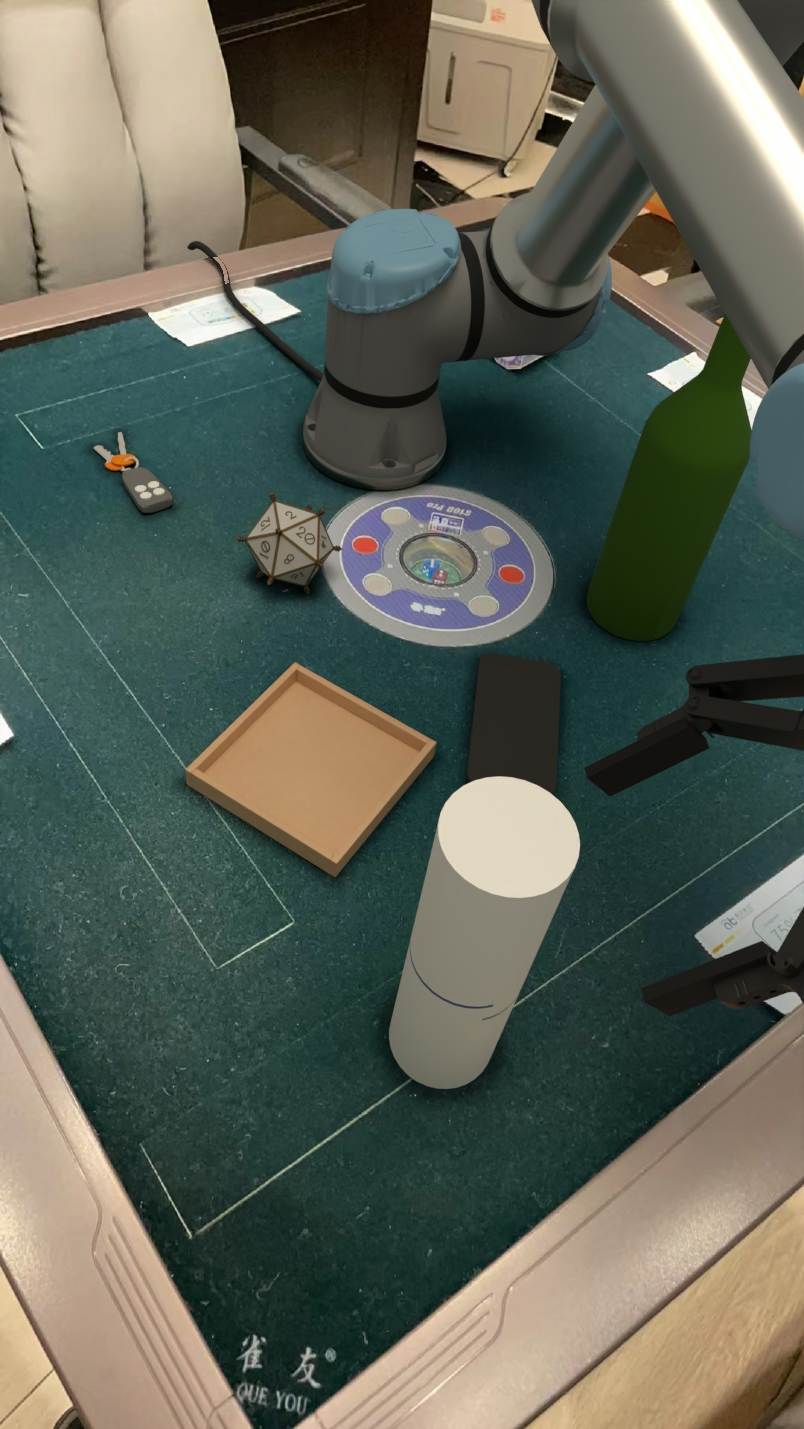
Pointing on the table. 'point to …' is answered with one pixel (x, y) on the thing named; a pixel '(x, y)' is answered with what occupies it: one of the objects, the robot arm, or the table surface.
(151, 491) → the key chain
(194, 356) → the table surface
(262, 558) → the game die
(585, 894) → the table surface
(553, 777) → the phone
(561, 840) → the cylindrical container
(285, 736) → the tray
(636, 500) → the wine bottle
